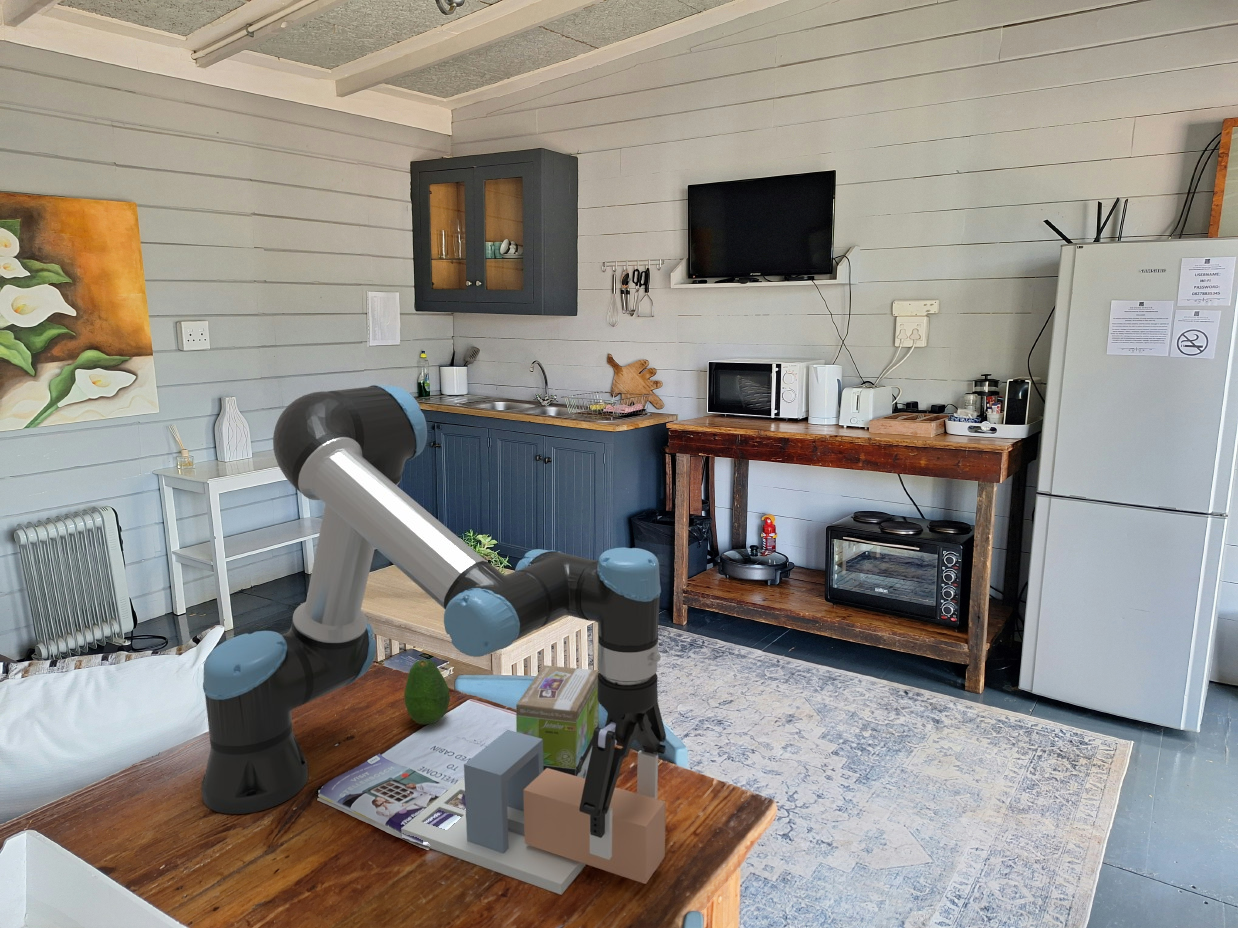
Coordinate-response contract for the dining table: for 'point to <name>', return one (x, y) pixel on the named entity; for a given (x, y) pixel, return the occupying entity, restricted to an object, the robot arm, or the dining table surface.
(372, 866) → the dining table surface
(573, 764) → the tea box
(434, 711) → the avocado
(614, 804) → the terracotta clay brick
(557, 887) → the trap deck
